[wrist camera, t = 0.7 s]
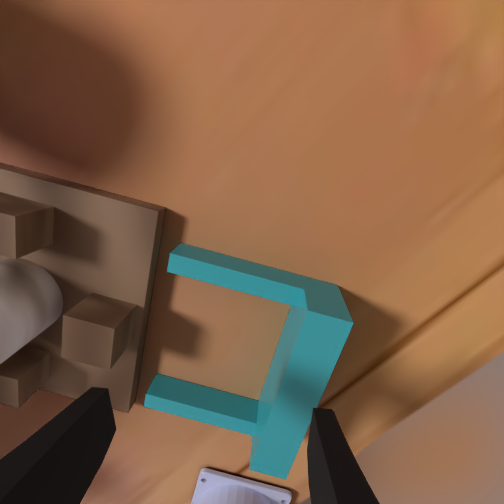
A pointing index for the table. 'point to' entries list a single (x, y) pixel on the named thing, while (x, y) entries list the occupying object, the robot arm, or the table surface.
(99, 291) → the stand
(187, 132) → the table surface
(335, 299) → the teal c-shaped bracket
